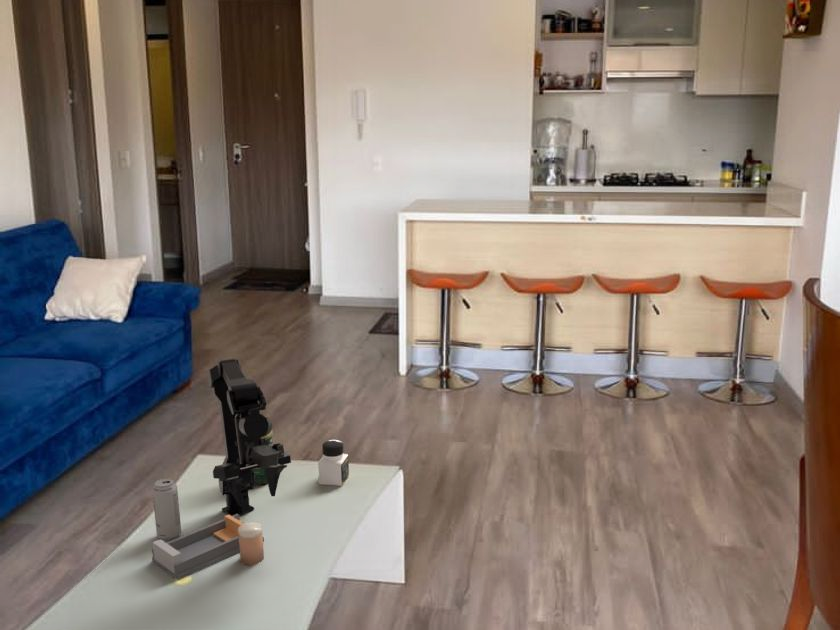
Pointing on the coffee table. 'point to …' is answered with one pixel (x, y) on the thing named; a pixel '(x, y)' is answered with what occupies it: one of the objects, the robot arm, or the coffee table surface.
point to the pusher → (229, 529)
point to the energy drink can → (166, 509)
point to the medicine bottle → (333, 464)
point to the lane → (194, 550)
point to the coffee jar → (259, 472)
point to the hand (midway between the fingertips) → (257, 500)
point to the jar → (251, 543)
